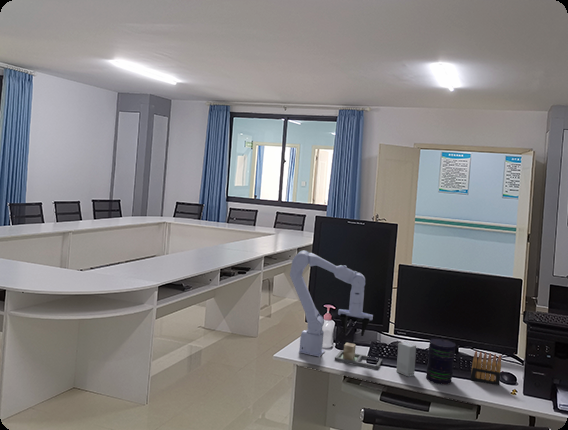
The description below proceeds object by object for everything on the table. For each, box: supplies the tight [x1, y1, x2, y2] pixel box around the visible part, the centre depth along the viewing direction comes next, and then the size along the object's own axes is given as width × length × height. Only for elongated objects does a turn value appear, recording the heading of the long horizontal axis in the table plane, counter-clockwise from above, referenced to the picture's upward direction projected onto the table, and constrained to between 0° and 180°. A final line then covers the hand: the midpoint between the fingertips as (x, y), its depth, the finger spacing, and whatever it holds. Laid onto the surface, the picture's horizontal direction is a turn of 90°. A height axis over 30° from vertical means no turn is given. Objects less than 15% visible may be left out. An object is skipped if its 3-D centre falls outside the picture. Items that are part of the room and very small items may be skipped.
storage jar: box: [425, 338, 456, 386], centre depth 203 cm, size 10×10×15 cm
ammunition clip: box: [470, 350, 502, 386], centre depth 205 cm, size 11×2×12 cm, turn 72°
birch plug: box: [342, 342, 357, 360], centre depth 218 cm, size 4×4×6 cm
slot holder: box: [334, 350, 383, 370], centre depth 217 cm, size 18×10×1 cm, turn 69°
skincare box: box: [395, 341, 417, 377], centre depth 207 cm, size 6×4×12 cm
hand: (353, 333), depth 220 cm, fingers open, 7 cm apart
